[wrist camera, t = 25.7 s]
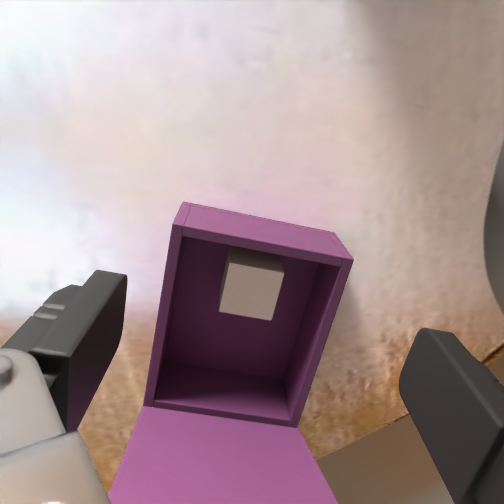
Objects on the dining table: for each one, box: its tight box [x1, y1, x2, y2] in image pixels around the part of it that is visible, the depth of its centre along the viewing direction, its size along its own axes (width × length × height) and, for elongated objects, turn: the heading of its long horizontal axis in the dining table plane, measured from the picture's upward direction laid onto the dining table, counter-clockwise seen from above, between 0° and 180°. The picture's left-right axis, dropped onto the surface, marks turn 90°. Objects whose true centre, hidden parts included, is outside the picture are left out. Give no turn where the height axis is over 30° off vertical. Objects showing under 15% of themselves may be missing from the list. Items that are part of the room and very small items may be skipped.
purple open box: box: [143, 202, 354, 428], centre depth 35 cm, size 17×14×6 cm
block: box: [219, 245, 284, 320], centre depth 34 cm, size 4×4×4 cm
